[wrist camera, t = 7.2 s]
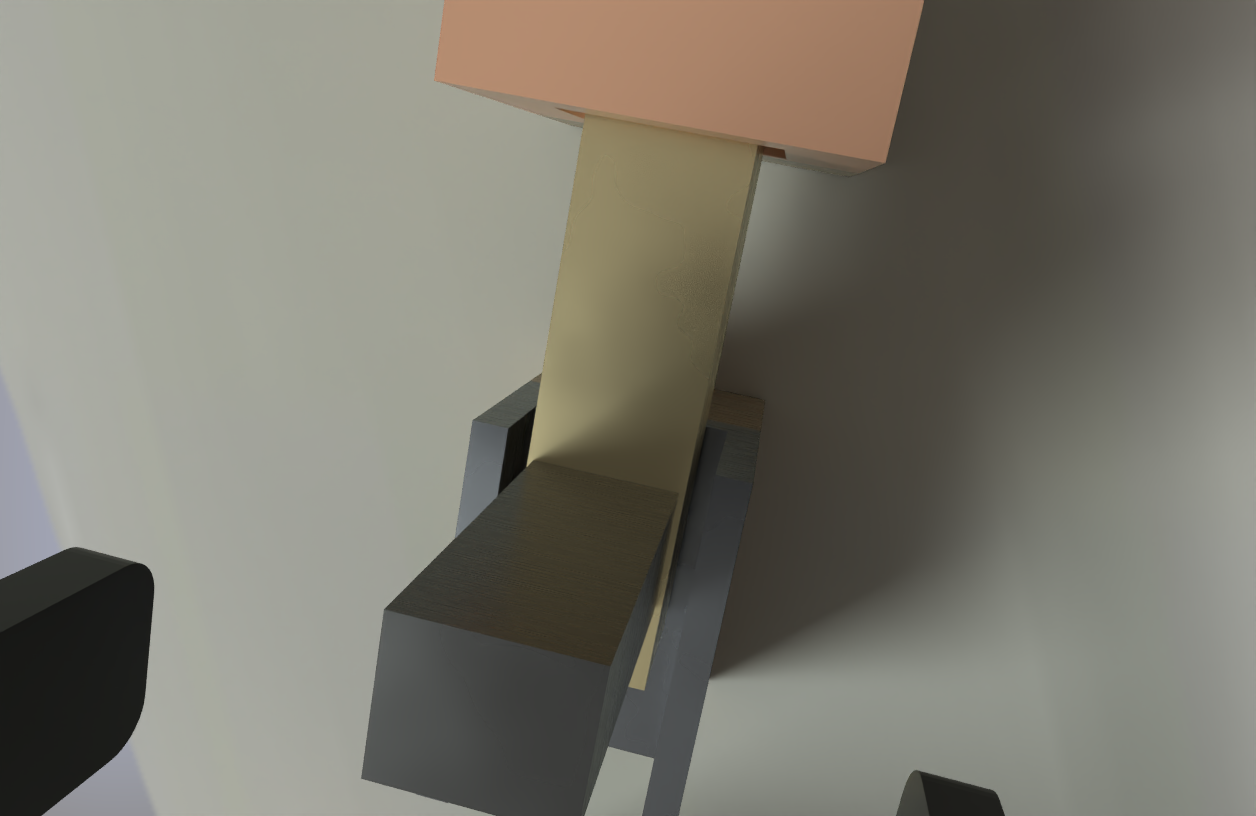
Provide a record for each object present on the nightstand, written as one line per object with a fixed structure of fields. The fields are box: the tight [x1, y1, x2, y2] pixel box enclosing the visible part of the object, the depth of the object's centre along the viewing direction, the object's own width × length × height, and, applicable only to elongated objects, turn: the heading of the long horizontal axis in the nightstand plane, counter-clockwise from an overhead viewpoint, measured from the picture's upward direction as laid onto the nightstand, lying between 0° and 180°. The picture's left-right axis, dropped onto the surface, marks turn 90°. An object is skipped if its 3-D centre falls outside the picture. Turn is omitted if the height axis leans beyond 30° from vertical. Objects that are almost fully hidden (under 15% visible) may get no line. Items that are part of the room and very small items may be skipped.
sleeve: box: [417, 373, 765, 816], centre depth 20 cm, size 7×5×7 cm, turn 170°
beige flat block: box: [361, 113, 765, 816], centre depth 14 cm, size 12×3×9 cm, turn 170°
